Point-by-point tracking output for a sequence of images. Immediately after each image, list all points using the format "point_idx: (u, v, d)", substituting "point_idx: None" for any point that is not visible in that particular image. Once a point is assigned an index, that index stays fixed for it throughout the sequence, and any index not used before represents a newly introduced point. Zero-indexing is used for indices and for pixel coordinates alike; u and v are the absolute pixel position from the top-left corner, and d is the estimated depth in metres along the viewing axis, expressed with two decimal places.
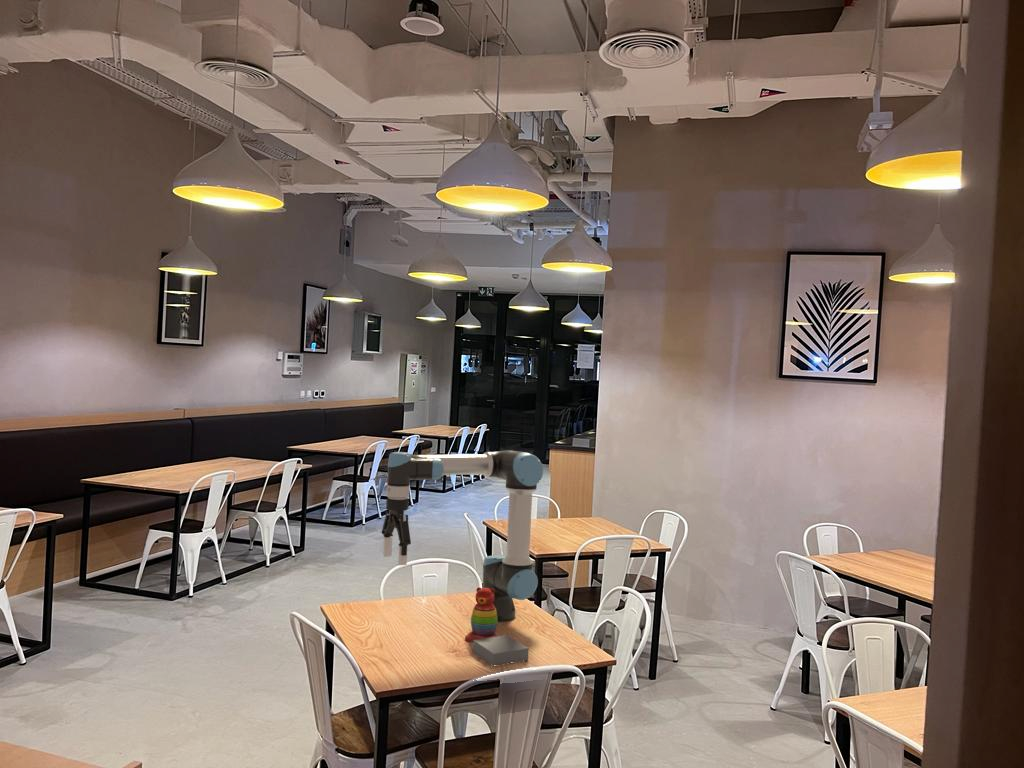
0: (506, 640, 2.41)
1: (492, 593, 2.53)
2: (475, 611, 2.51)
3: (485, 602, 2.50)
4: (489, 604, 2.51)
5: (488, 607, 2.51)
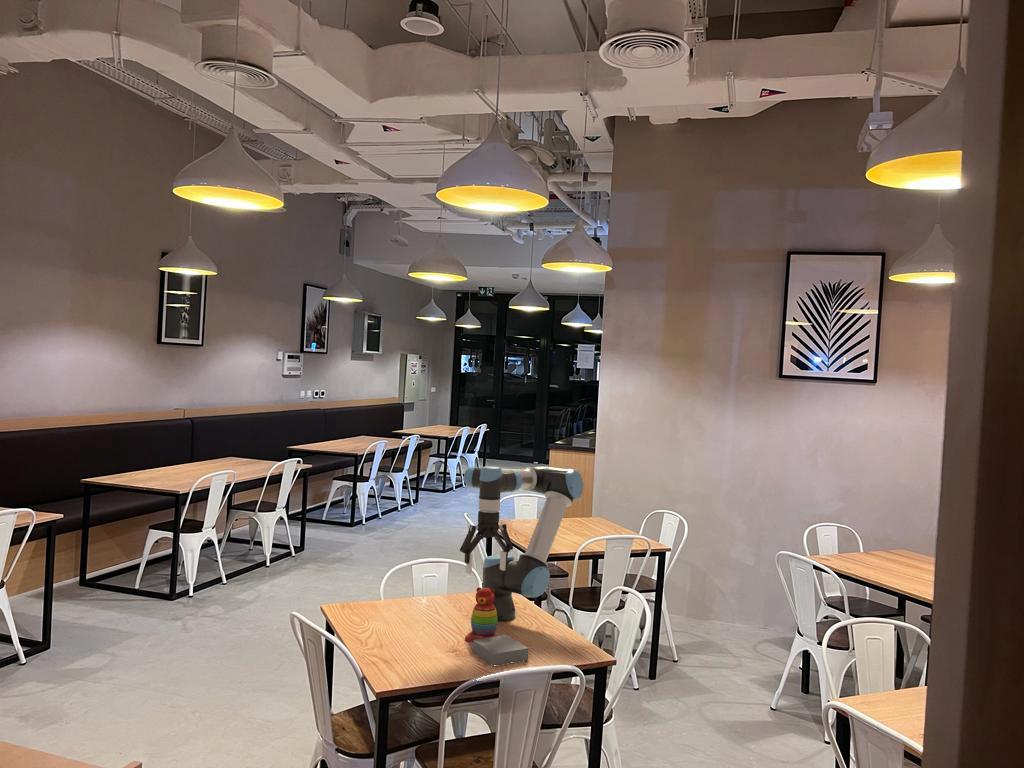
0: (506, 640, 2.41)
1: (492, 593, 2.53)
2: (475, 611, 2.51)
3: (485, 602, 2.50)
4: (489, 604, 2.51)
5: (488, 607, 2.51)
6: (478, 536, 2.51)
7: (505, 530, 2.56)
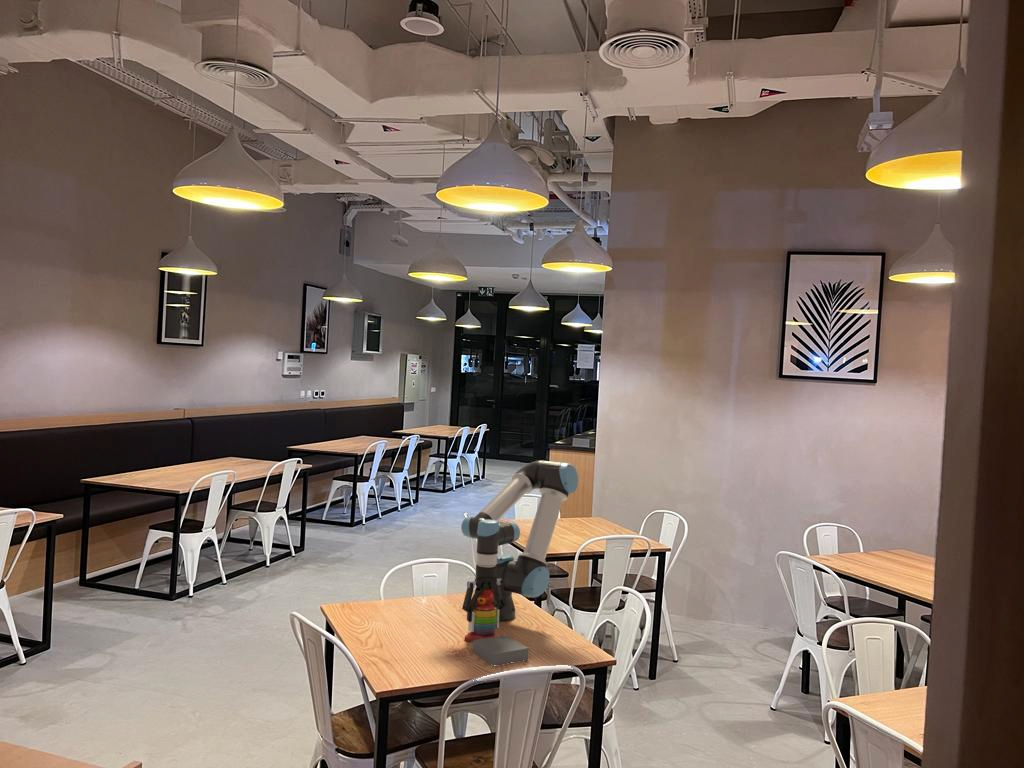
0: (506, 640, 2.41)
1: (491, 593, 2.52)
2: (474, 611, 2.51)
3: (484, 602, 2.50)
4: (488, 604, 2.51)
5: (487, 607, 2.51)
6: (477, 592, 2.52)
7: (502, 586, 2.56)
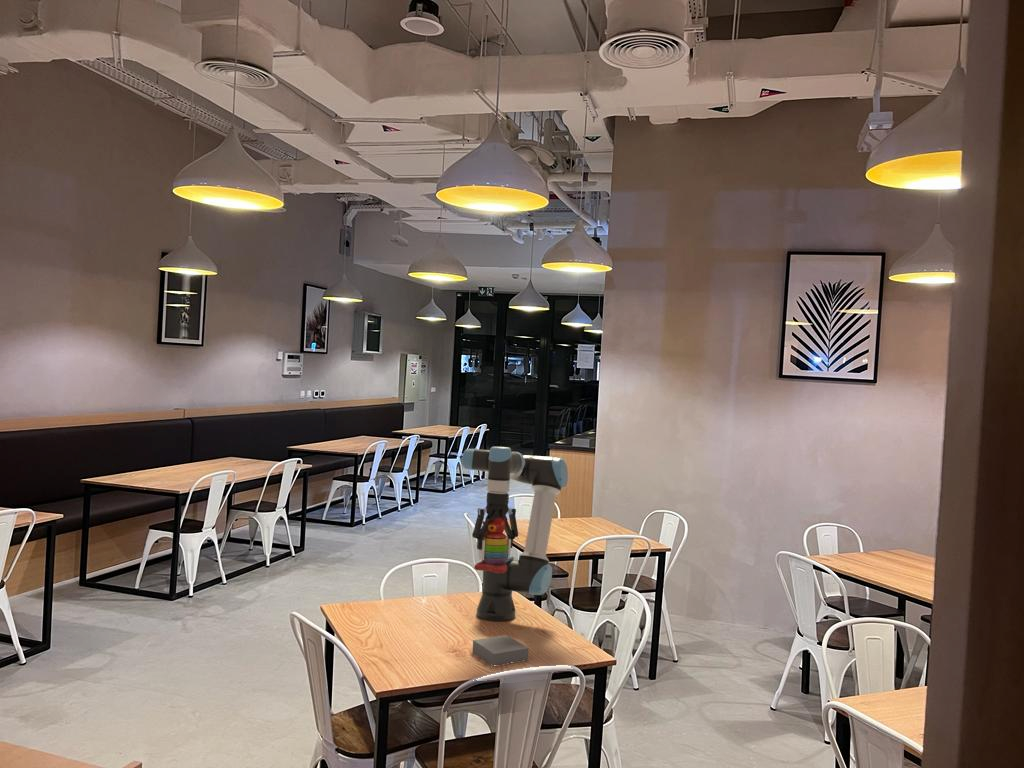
0: (506, 640, 2.41)
1: (503, 521, 2.45)
2: (485, 539, 2.43)
3: (495, 529, 2.42)
4: (499, 532, 2.43)
5: (498, 535, 2.43)
6: (488, 519, 2.44)
7: (514, 515, 2.48)
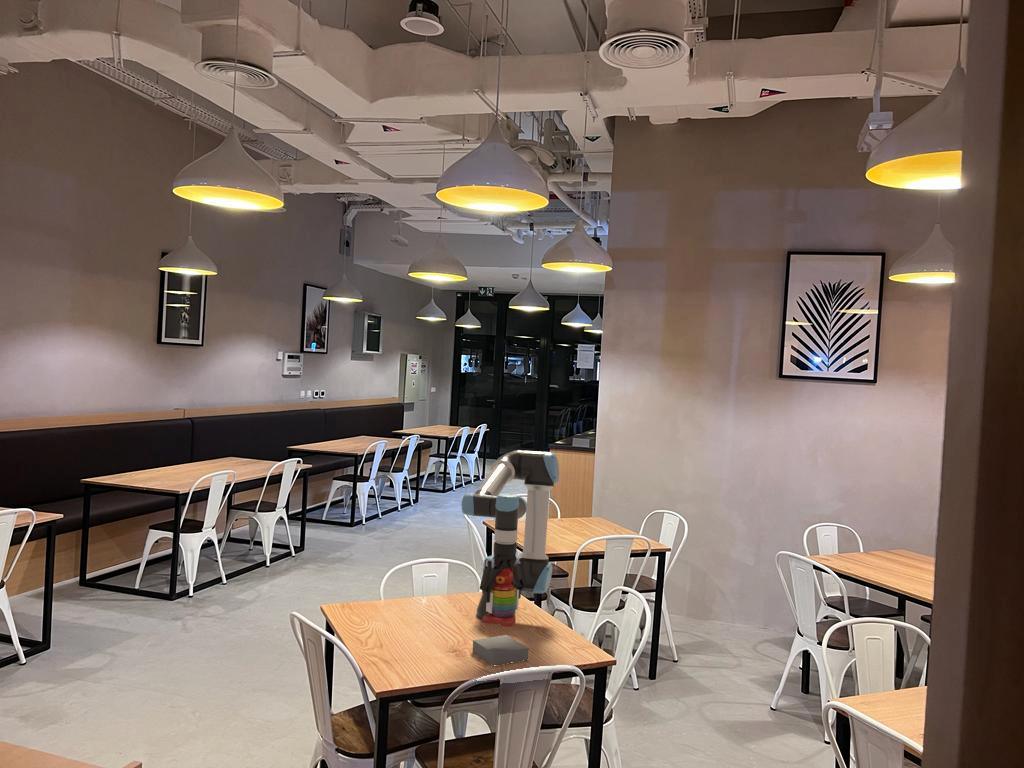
0: (506, 640, 2.41)
1: (511, 572, 2.37)
2: (493, 591, 2.35)
3: (503, 581, 2.34)
4: (508, 584, 2.35)
5: (507, 587, 2.35)
6: (495, 571, 2.36)
7: (522, 564, 2.40)
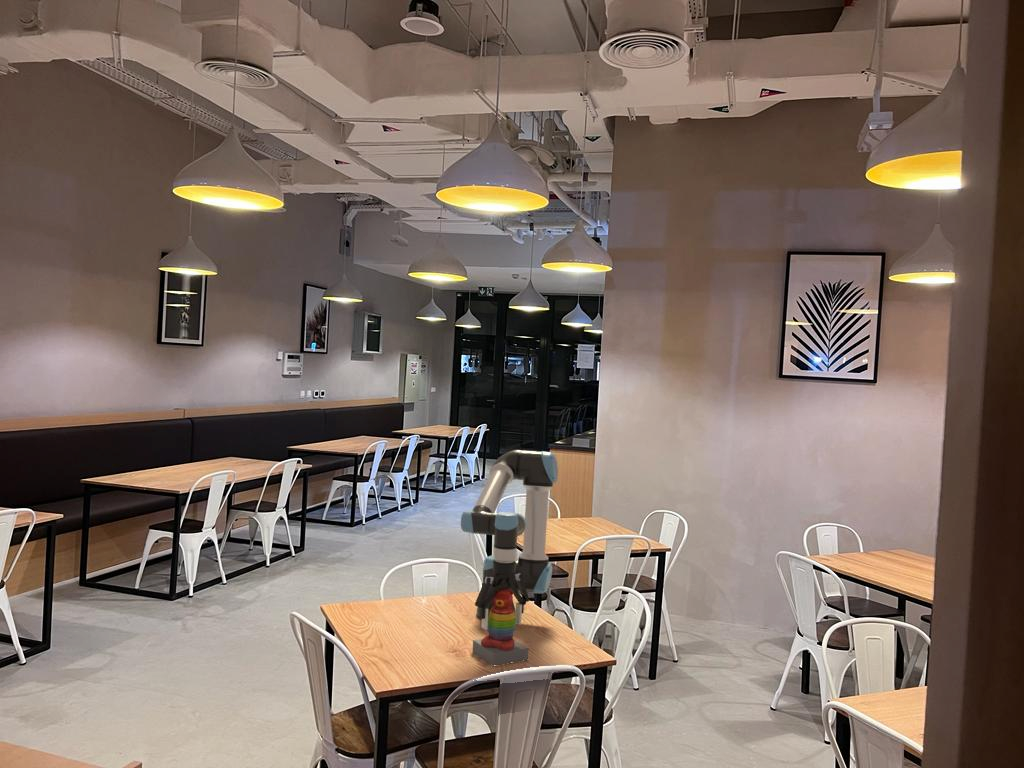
0: None
1: (510, 595, 2.36)
2: (492, 614, 2.35)
3: (503, 605, 2.33)
4: (507, 607, 2.35)
5: (506, 610, 2.35)
6: (493, 588, 2.35)
7: (522, 581, 2.40)
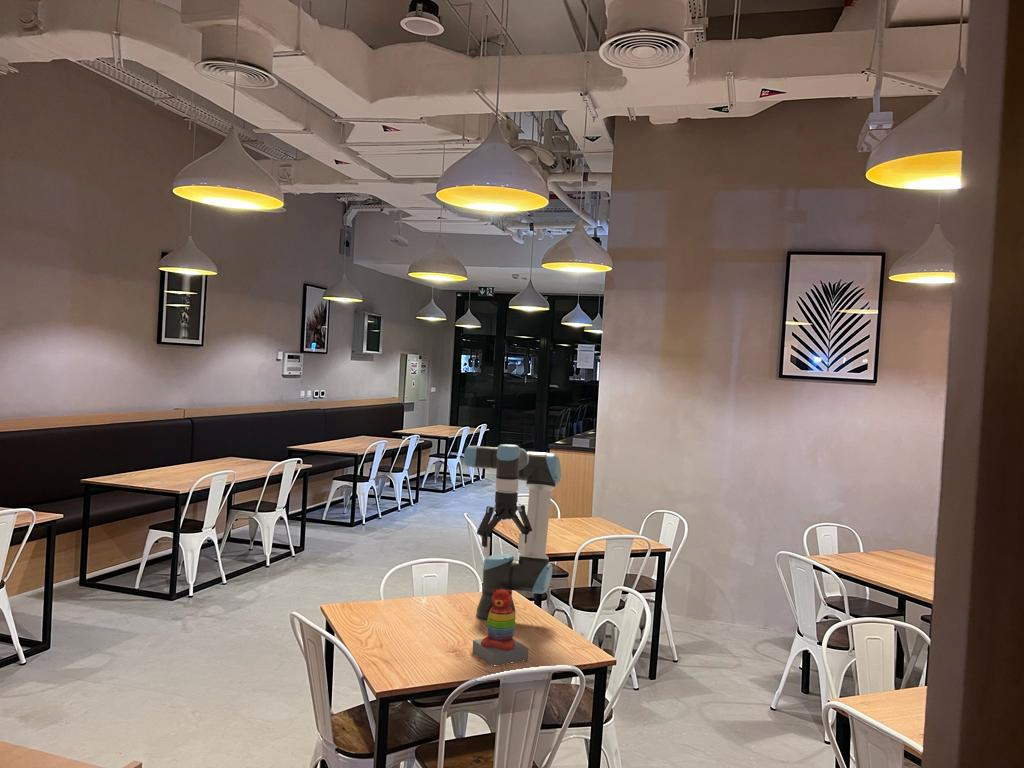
0: None
1: (510, 595, 2.37)
2: (491, 614, 2.35)
3: (502, 604, 2.34)
4: (506, 607, 2.35)
5: (505, 610, 2.35)
6: (495, 518, 2.38)
7: (524, 511, 2.43)
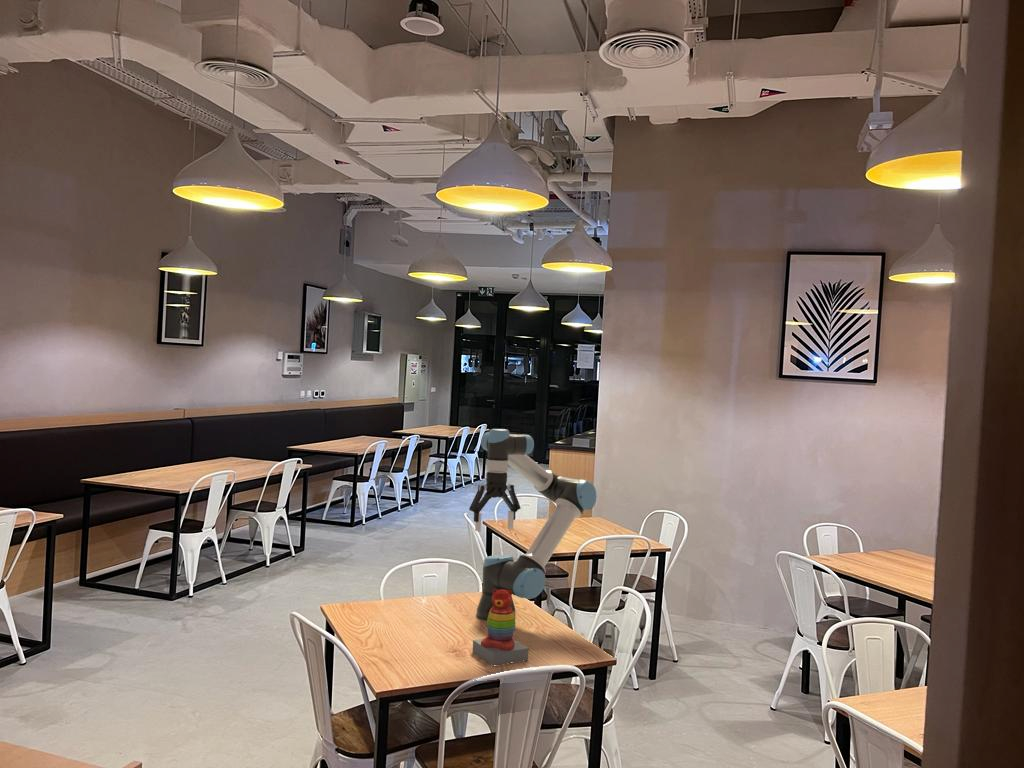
0: None
1: (510, 595, 2.37)
2: (491, 614, 2.35)
3: (502, 604, 2.34)
4: (506, 607, 2.35)
5: (505, 610, 2.35)
6: (487, 496, 2.60)
7: (513, 490, 2.65)
